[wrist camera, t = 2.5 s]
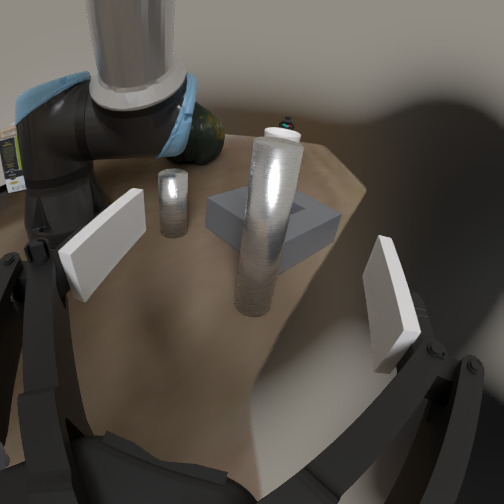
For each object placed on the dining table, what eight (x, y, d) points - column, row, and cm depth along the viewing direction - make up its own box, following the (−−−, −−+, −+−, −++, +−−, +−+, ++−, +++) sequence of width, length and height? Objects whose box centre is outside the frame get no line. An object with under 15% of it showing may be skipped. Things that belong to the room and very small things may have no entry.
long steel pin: (227, 301, 33) (243, 138, 23) (252, 286, 36) (276, 135, 25) (252, 322, 31) (281, 153, 20) (277, 305, 33) (313, 148, 23)
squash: (194, 154, 56) (221, 94, 57) (139, 146, 60) (166, 92, 61) (219, 180, 69) (239, 128, 70) (168, 170, 73) (190, 122, 75)
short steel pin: (155, 228, 43) (153, 172, 38) (178, 220, 45) (178, 166, 40) (169, 241, 41) (167, 182, 36) (192, 232, 43) (193, 175, 38)
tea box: (71, 167, 60) (66, 109, 52) (63, 184, 53) (55, 117, 44) (20, 177, 55) (12, 121, 46) (7, 194, 48) (-5, 132, 39)
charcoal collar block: (206, 227, 45) (207, 197, 42) (269, 204, 53) (273, 178, 50) (274, 277, 37) (280, 244, 34) (333, 241, 46) (341, 213, 43)
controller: (290, 147, 86) (295, 116, 81) (289, 159, 77) (295, 124, 71) (276, 145, 87) (280, 114, 81) (273, 156, 77) (279, 121, 71)
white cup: (269, 164, 71) (275, 126, 65) (298, 174, 68) (306, 134, 62) (252, 172, 65) (257, 129, 59) (283, 183, 62) (291, 138, 56)
